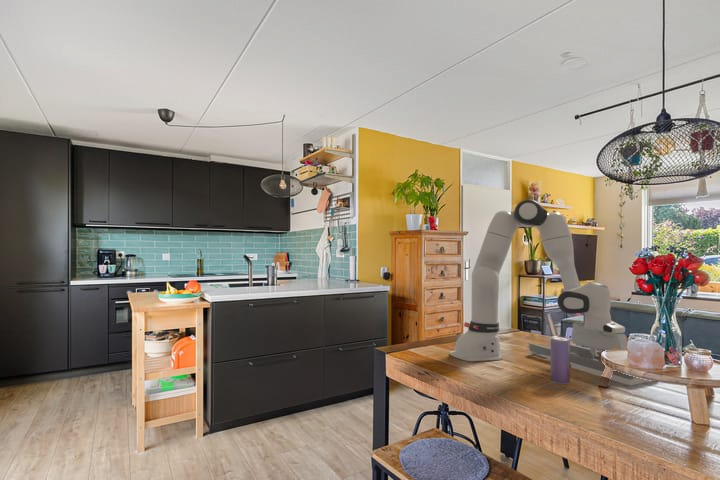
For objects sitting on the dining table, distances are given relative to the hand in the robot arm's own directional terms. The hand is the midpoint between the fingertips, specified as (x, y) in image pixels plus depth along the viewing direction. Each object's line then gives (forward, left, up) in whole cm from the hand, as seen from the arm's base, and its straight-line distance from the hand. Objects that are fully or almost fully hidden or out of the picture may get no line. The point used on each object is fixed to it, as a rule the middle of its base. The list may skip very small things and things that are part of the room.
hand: (598, 360), depth 149 cm
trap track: (0, +4, -3) cm, 5 cm away
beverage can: (-27, -5, -4) cm, 28 cm away
